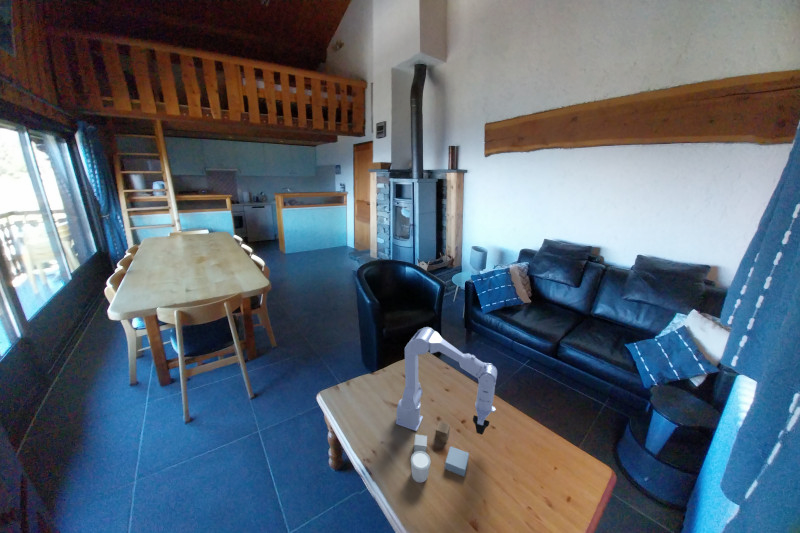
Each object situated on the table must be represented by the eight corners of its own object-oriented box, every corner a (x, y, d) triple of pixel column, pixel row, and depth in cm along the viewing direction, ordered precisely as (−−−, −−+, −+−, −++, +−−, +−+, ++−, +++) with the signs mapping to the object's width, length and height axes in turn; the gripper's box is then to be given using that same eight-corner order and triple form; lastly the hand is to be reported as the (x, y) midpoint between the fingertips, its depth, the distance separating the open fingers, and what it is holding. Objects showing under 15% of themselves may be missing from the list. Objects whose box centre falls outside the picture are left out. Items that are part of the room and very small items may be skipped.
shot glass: (424, 488, 101) (424, 473, 98) (406, 477, 104) (406, 462, 102) (433, 471, 106) (434, 457, 104) (416, 461, 110) (416, 447, 107)
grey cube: (413, 454, 112) (414, 444, 111) (415, 444, 116) (415, 434, 115) (425, 456, 112) (426, 446, 110) (426, 445, 116) (427, 435, 114)
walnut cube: (435, 439, 119) (435, 429, 117) (438, 430, 123) (438, 421, 121) (446, 443, 117) (446, 433, 115) (449, 434, 121) (449, 424, 119)
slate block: (444, 469, 107) (445, 462, 106) (449, 453, 113) (450, 446, 112) (464, 477, 105) (465, 470, 104) (468, 460, 111) (469, 453, 110)
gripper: (494, 414, 101) (489, 444, 105) (498, 386, 113) (494, 414, 118) (473, 407, 103) (469, 437, 108) (479, 381, 116) (476, 408, 120)
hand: (481, 425), depth 113 cm, fingers open, 7 cm apart
